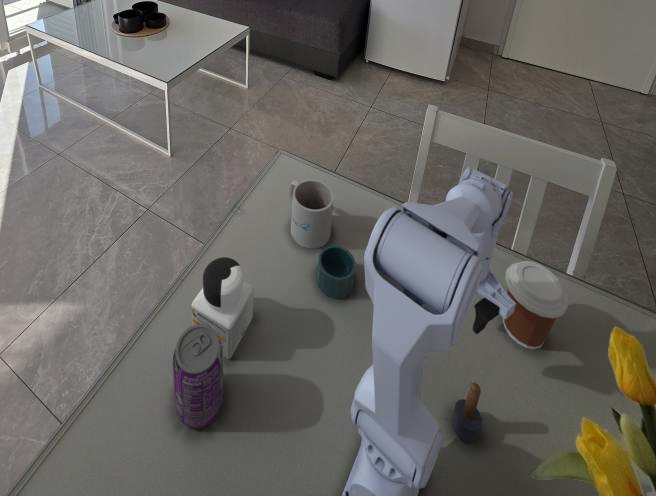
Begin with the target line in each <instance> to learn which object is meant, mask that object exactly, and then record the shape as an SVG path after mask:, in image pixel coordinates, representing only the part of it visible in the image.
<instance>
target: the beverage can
mask: <svg viewBox="0 0 656 496" xmlns="http://www.w3.org/2000/svg"><path fill="white" fill-rule="evenodd" d="M172 373H173V377H172V378H173V389H174V390H173V391H174V392H173V393H174V406H175V412H176V413H175V414H176V415H177V418H178V420H179V421H180V422H181V423H182V424H183V425H184V426H185V427H187V428H190V429H194V430H195V429H202V428H204V427H207V426H208V425H210V424H211V423H212V422H213V421H214V420H215V419H216V418H217V416H218V414H219V413H220V411H221V410H222V409H221V408H222V406H223V401H224V356H223V351H222V346H221V343H220V341H219V339H218V336H217V334H216V332H215V331H214V330H213V329H212V328H211V327H209V326H207V325H204V324H197V325H193V326H192V325H191V326H189V327H188V328H186V329H185V330H184V331H183V332H182V333H181V334H180V336H179V337H178V339H177V341H176V345H175V348H174V351H173V355H172Z"/></svg>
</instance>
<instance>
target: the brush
mask: <svg viewBox="0 0 656 496" xmlns="http://www.w3.org/2000/svg"><path fill="white" fill-rule="evenodd" d="M481 393H482V390H481V387H480V385H479V384H478V383H477V382H471V383H470V384H469V388H468V390H467V394H466V398H465V399H464V398H461V399H458V400H457V401H456V402H455V404H454V408H453V412H452V416H451V426H452V429H453V433H454V434H455V435H456V436H457V437H458V439H459V440H461V441H462V442H464V443H466V444H469V445H470V444H474V443H475V442H477V441H478V439H479V434H480V431H481V427H482V425H483V419H482V415H481V413H480V411H479V408H478V407H477V406H478V403H479V400H480V397H481Z"/></svg>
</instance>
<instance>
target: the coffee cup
mask: <svg viewBox="0 0 656 496" xmlns="http://www.w3.org/2000/svg"><path fill="white" fill-rule="evenodd" d="M505 283H506V286H507V290H506V291H507V292H506V293H507V294H508V296H509V297H510V298H511V299H512V300H513V301H514V302H515V303H516V306H515V309H514V313H513V314H512V315H510V316H509V317H508V318H507V319H504V318H503V317H502V324H503V326H504V329H505V331H506V332H507V334H508V335H509V337H510V338H511V339H513V341H515V342H516V343H517V344H518V345H519V346H522V347H523V348H525V349H529V350H537V349H541V348H542V347H543V345H544V344H545V341H546V339H547V337H548V335H549V333H550V331H551V329H552V328H553V325H554V323H555V322H556V320H557V318H559V317H562V316H564V314H565V313H566V311H567V309H568V307H569V306H568V296H567V294H566V292H565V290H564V288H563V286H562V284H561V282H560V280H559V278H558V277H557V276H556V275H555V274H554V273H553V272H552V271H550V269H548V268H547V267H545V266H544V265H542V264H539V263H537V262H535V261H531V260H523V261H519V262H514V263H511V264H510V265H509V266H508V268H507V269H506V271H505Z"/></svg>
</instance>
